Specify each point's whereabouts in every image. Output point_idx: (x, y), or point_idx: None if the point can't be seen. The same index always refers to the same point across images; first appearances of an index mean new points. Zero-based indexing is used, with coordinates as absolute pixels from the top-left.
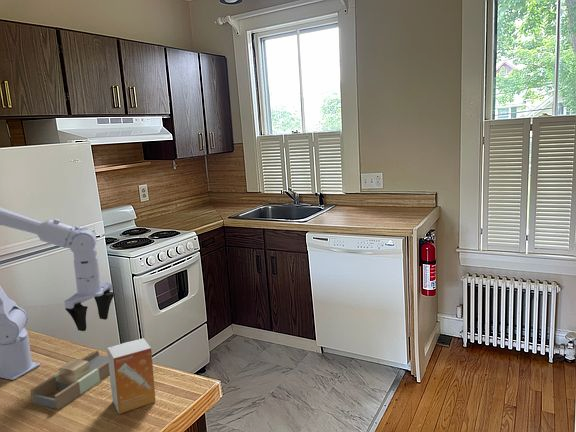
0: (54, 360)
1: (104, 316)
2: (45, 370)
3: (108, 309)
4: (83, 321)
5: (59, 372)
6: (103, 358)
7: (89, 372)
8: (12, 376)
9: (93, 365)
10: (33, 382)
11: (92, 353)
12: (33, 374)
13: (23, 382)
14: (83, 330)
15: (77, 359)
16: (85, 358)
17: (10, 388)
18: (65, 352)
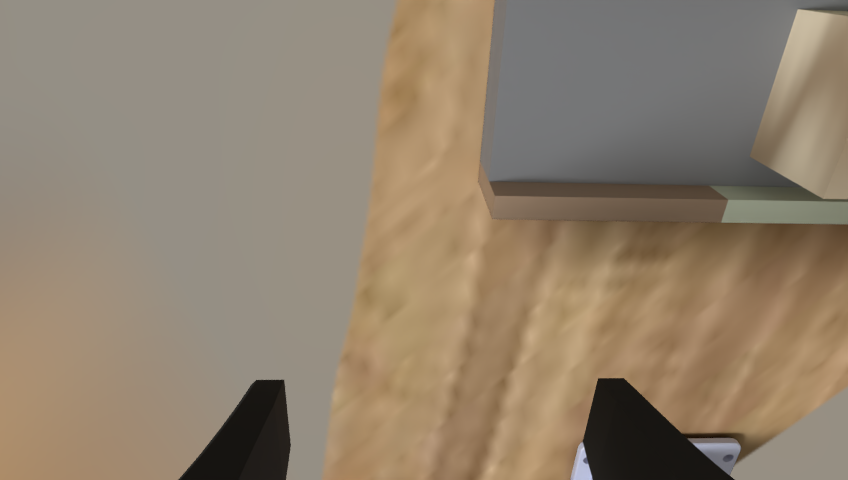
0: (516, 418)
1: (277, 421)
2: None
3: (203, 465)
4: (712, 464)
5: (844, 222)
6: (531, 103)
7: (819, 11)
8: (722, 460)
9: (650, 98)
10: (749, 345)
11: (546, 207)
12: (669, 402)
13: (749, 386)
14: (632, 387)
15: (840, 161)
16: (628, 200)
17: (804, 395)
18: (422, 433)
